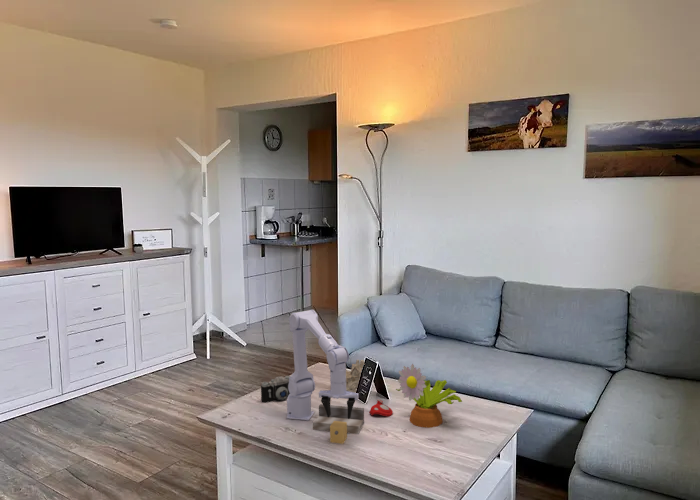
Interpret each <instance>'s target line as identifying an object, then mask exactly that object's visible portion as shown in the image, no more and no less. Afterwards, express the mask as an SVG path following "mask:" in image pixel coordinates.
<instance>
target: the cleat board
mask: <svg viewBox="0 0 700 500" xmlns="http://www.w3.org/2000/svg"><path fill="white" fill-rule="evenodd" d="M330 409H331V415H330V417H327V413H326V410H325V408H324V406H323V404H322V403H321V404H319V405H318V416H317V418H316V419H315V420H313V421H312V430H314V431H324V432H330V426H331V424H332V423H333V421H340V422H347V434H354V435H359V433H360V432H361V429H362V428H363V426H364V424H365V408H364V407H354V406H353V408H352V412H351V418H350V419H348V408H347V406H342V405H331V404H330Z"/></svg>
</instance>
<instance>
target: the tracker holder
mask: <svg viewBox="0 0 700 500" xmlns="http://www.w3.org/2000/svg"><path fill="white" fill-rule="evenodd" d="M368 413H369V414H370V415H371V416H374V415H380V416H383V417H392V416H393V413H394V411H393V410H392V408H391V407H389V406H388V405H386V404H384V401H383V400H382V399H378V398H377V399H376V404H374V405H372V406H371V408H370V410H369V412H368Z"/></svg>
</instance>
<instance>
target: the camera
mask: <svg viewBox="0 0 700 500" xmlns="http://www.w3.org/2000/svg"><path fill="white" fill-rule="evenodd" d="M290 376H291V375H285V376H281V375H280V376H276V377H275V378H274V379H270V380H269V381H268V382H267V381H263V382H261V385H260V395H261V397H260V398H261V403H263V404H267V403H271V402H276V401H278V400H279V401H280V400H281V401H283V400H285V399H287V398H288V395H289V394H290V393H289V390H288V385H289V377H290Z"/></svg>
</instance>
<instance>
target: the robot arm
mask: <svg viewBox="0 0 700 500" xmlns="http://www.w3.org/2000/svg"><path fill="white" fill-rule="evenodd" d="M288 323H289V331H290V332H291V333H292V335H291V336H292V348H293V350H292V351H293V360H294V361H293V364H294V372H292V373H291V375H289V376H290V377H289V385H288V390H289V393H290V394H289V395H288V398H286V419H291V420H292V419H293V420H298V421H299V420H302V421H310V419H311V418H312V417H313V415H314V414H315V411H313V410H312V397H311V396H312V395H313V392H314V391H315V389H316V382H315V379H314V374H313V373H312V372H310V371H308V370H309V369H308V357H307V356H308V355H307V343H306V332H307V331H308V330H309V331H310V332H311V333H312V334H313V335H314V336H315V338H316V339H317V340H318V346H319V347H320V349H321V350H322V351H323V352H324V354H325V355H326V361H327V364H328V369H329V370H330V371H329V374H330V375H329V377H330V379H329V381H330V390H329V389H328V390H319V392H318V398H321V399H320V402H321V404H322V405H323V406H324V408H325V410H326V413H327V417H330V415H331V409H330V405H331V401H332V399H331V398H333V399H347V400H346V405H347V406H346V407H347V408H348V419H350V418H351V412H352V408H353V407H354V405H355V402H356V401H358V400H359V393H360V392H359V393H354V392H350V391H346V370H347V363H348V362H349V359H350V354H349V351H348V349H347V347H346V346H342V345H339V344H338V342H337V341H336V340H335V338H333V336H332V335H331V334H329V333H326V332H325V329H323V327H322V325H321V324H320V322H319V315H318V313H317V312H316V311H315V310H314V309H308V310H304V311H298V312H292V313H290V316H289V317H288Z"/></svg>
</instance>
